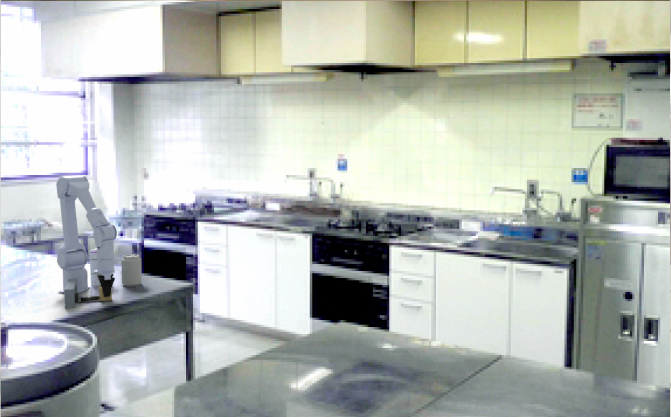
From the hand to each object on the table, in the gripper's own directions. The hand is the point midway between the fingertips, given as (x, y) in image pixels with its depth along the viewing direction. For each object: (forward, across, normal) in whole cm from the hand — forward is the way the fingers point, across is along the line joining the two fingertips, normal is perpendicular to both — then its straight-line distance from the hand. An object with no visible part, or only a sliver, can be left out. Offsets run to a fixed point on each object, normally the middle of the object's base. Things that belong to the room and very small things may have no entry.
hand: (106, 295), depth 241 cm
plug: (+2, 0, -5) cm, 5 cm away
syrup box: (+2, -26, 0) cm, 26 cm away
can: (+2, -21, +11) cm, 24 cm away
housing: (+2, -1, -12) cm, 12 cm away
